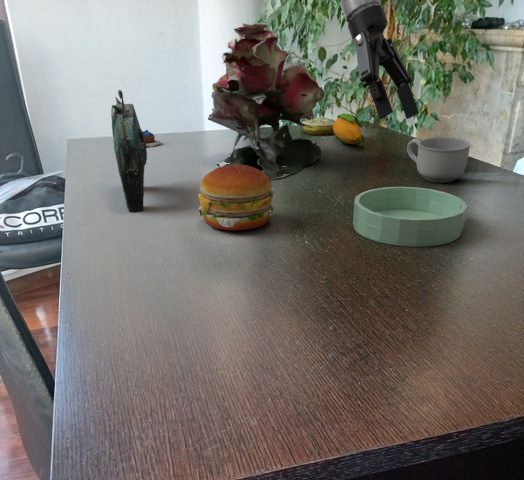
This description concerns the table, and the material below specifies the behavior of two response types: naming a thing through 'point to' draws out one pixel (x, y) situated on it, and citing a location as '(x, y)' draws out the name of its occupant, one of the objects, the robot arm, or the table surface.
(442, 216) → the bowl
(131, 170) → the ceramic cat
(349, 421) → the table surface
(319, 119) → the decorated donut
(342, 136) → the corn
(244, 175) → the burger
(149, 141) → the dessert
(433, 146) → the teacup
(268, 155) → the rose bouquet
